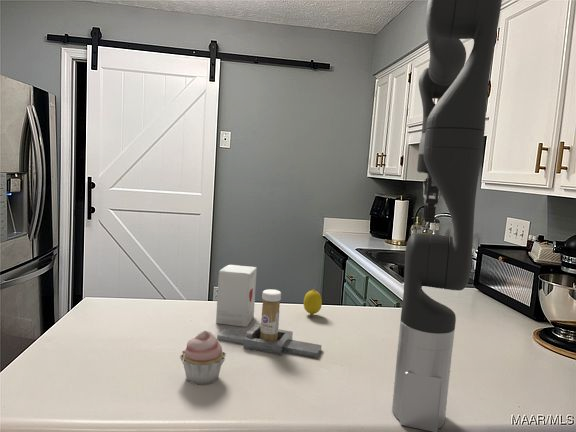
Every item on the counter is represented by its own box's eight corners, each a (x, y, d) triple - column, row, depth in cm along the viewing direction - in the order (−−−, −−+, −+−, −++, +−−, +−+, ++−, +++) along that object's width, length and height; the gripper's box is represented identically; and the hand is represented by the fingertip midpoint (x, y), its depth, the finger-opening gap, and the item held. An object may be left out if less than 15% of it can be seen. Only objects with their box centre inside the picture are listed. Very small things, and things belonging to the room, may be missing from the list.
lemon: (299, 315, 125) (301, 289, 124) (307, 310, 130) (309, 286, 129) (316, 319, 122) (318, 293, 121) (323, 314, 127) (325, 289, 126)
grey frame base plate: (314, 362, 94) (315, 347, 94) (212, 342, 101) (213, 329, 101) (323, 346, 103) (324, 333, 103) (229, 329, 110) (229, 317, 110)
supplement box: (246, 327, 113) (249, 273, 111) (215, 323, 114) (217, 270, 112) (254, 316, 121) (257, 266, 120) (225, 313, 123) (227, 263, 121)
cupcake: (179, 391, 78) (181, 340, 77) (178, 368, 87) (179, 322, 86) (228, 387, 81) (231, 338, 80) (222, 365, 90) (224, 321, 89)
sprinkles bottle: (256, 345, 101) (259, 292, 100) (263, 339, 106) (267, 287, 104) (273, 349, 100) (277, 295, 98) (280, 342, 104) (284, 290, 103)
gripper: (418, 154, 107) (412, 216, 109) (419, 150, 94) (412, 221, 95) (448, 156, 105) (442, 219, 107) (454, 152, 91) (447, 225, 93)
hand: (428, 220), depth 101 cm, fingers open, 8 cm apart
